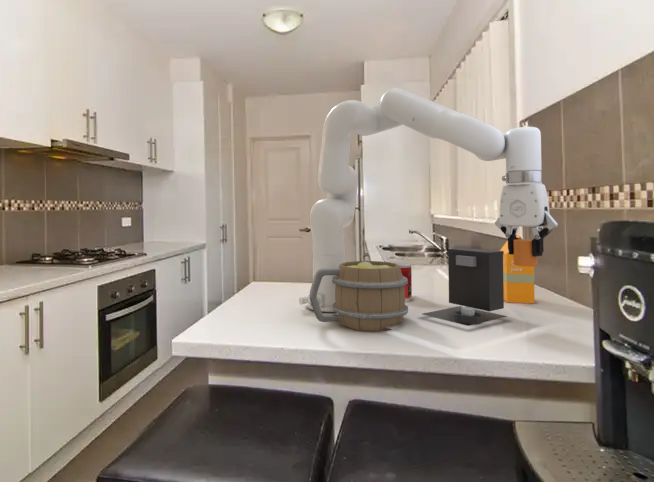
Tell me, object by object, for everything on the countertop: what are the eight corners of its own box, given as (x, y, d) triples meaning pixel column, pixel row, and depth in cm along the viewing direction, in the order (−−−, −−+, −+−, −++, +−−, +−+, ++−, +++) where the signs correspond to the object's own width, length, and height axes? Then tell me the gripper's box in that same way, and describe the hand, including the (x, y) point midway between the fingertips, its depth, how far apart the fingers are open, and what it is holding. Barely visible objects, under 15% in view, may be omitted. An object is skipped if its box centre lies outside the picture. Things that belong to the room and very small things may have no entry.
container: (530, 267, 105) (529, 241, 105) (509, 264, 109) (509, 239, 109) (541, 265, 108) (541, 240, 108) (521, 263, 112) (520, 238, 112)
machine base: (469, 331, 106) (469, 318, 106) (420, 318, 118) (420, 306, 118) (509, 321, 114) (509, 309, 114) (459, 310, 126) (459, 299, 126)
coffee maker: (486, 312, 111) (485, 253, 111) (444, 303, 122) (444, 249, 122) (504, 308, 115) (503, 251, 115) (462, 300, 126) (462, 247, 126)
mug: (303, 316, 121) (302, 260, 121) (391, 312, 124) (391, 258, 124) (317, 336, 102) (317, 270, 102) (421, 331, 105) (420, 267, 106)
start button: (469, 317, 108) (469, 310, 108) (458, 314, 111) (458, 307, 111) (477, 315, 110) (477, 308, 110) (466, 313, 112) (466, 306, 112)
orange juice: (506, 302, 136) (505, 235, 136) (499, 296, 144) (498, 233, 145) (535, 303, 134) (534, 235, 134) (526, 297, 143) (525, 233, 143)
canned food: (414, 301, 138) (414, 265, 138) (388, 301, 138) (388, 265, 138) (407, 296, 146) (407, 262, 146) (383, 296, 146) (382, 262, 146)
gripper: (482, 181, 114) (483, 253, 114) (552, 176, 99) (554, 259, 99) (499, 181, 118) (501, 251, 118) (569, 177, 103) (571, 257, 103)
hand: (525, 254), depth 108 cm, fingers closed on container, 5 cm apart
